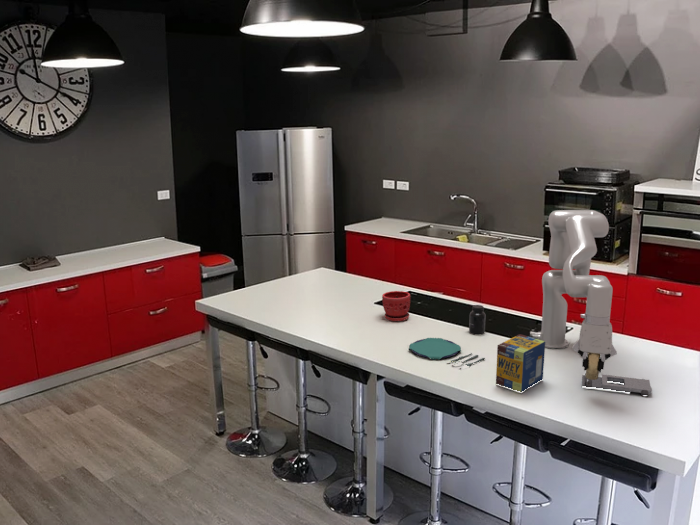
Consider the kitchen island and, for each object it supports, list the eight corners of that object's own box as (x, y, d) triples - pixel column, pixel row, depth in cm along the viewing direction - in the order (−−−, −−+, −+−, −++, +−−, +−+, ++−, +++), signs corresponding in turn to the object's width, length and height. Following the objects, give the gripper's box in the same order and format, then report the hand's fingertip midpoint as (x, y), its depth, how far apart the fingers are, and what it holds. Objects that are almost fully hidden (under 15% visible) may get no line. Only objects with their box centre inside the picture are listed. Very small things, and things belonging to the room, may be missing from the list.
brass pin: (585, 378, 210) (588, 351, 208) (585, 373, 214) (588, 346, 211) (598, 380, 209) (600, 352, 206) (598, 375, 213) (600, 348, 210)
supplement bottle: (467, 333, 274) (467, 307, 271) (471, 328, 279) (472, 303, 277) (482, 336, 270) (483, 309, 268) (486, 331, 276) (487, 305, 273)
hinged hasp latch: (581, 388, 219) (582, 382, 219) (582, 377, 228) (582, 371, 227) (650, 397, 212) (651, 391, 211) (648, 385, 220) (649, 379, 220)
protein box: (495, 385, 223) (496, 344, 219) (518, 372, 233) (520, 333, 230) (521, 394, 216) (523, 352, 212) (543, 380, 226) (546, 340, 222)
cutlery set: (434, 338, 269) (434, 333, 268) (489, 360, 246) (489, 355, 245) (400, 350, 257) (400, 345, 256) (454, 375, 234) (454, 369, 234)
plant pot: (410, 314, 300) (410, 290, 298) (410, 323, 288) (410, 298, 285) (383, 313, 302) (382, 289, 299) (381, 322, 289) (381, 298, 286)
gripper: (570, 320, 205) (565, 371, 210) (625, 325, 200) (619, 378, 205) (570, 312, 212) (566, 362, 217) (624, 317, 206) (618, 368, 211)
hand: (592, 369), depth 211 cm, fingers closed on brass pin, 4 cm apart
